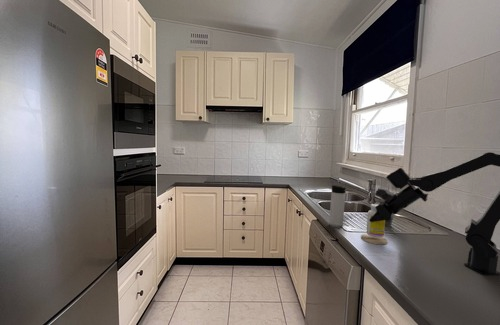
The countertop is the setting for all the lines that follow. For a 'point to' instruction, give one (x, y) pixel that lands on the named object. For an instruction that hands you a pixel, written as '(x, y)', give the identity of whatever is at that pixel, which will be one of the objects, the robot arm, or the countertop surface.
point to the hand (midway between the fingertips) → (372, 219)
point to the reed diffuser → (389, 222)
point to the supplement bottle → (375, 224)
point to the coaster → (374, 239)
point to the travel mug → (337, 206)
